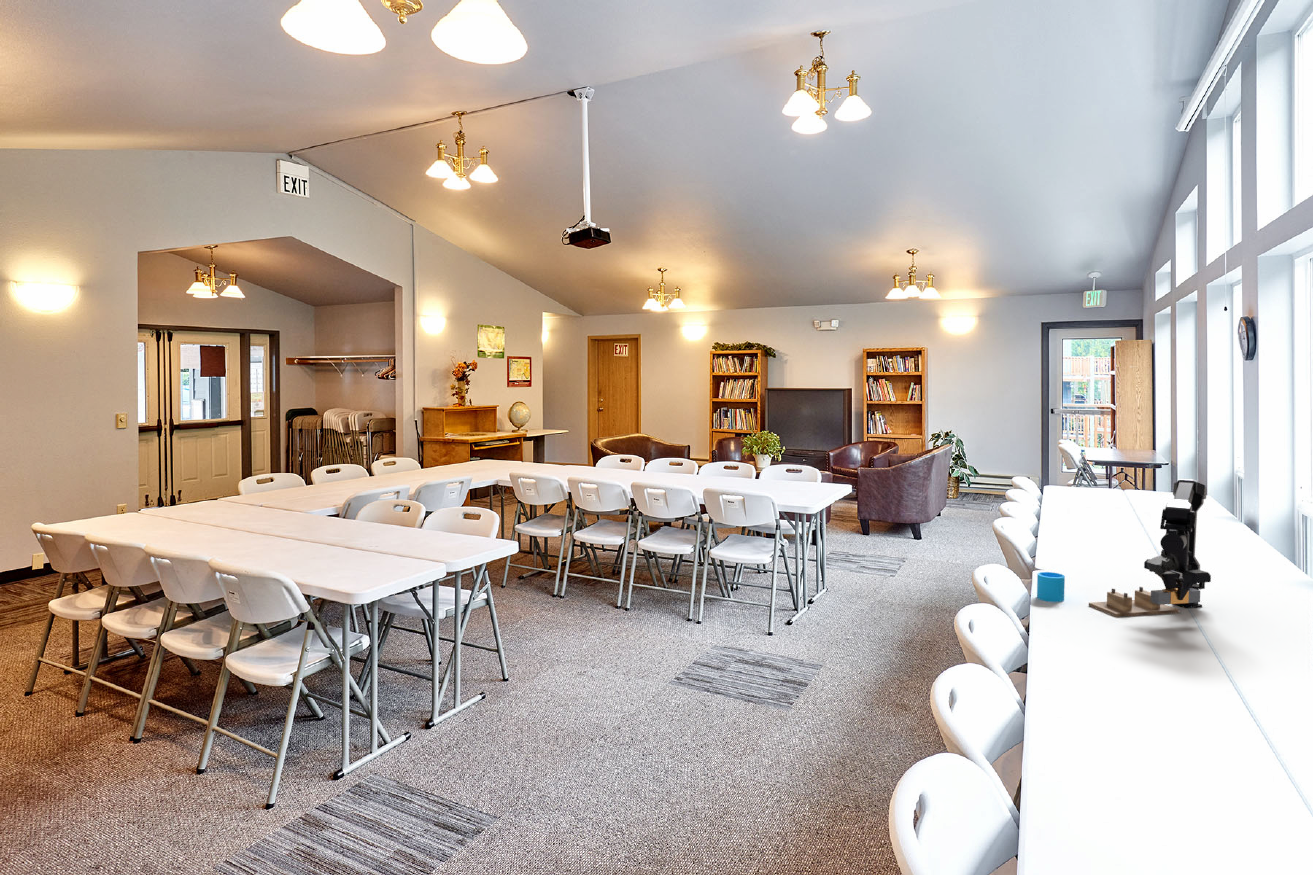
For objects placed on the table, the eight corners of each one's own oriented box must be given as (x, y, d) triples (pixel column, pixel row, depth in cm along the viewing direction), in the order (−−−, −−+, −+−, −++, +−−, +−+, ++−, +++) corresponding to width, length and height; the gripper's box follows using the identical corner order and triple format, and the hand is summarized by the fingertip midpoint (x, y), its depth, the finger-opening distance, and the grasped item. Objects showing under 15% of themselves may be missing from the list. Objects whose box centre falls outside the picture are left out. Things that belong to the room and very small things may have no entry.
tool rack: (1148, 601, 249) (1149, 583, 248) (1179, 612, 237) (1179, 593, 236) (1088, 605, 245) (1089, 587, 245) (1116, 616, 234) (1116, 597, 233)
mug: (1059, 603, 248) (1060, 579, 248) (1033, 598, 254) (1034, 575, 254) (1070, 596, 257) (1071, 572, 256) (1045, 591, 263) (1045, 568, 262)
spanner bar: (1191, 599, 230) (1191, 587, 229) (1200, 602, 226) (1200, 590, 226) (1150, 601, 228) (1150, 589, 227) (1158, 604, 224) (1159, 592, 224)
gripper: (1129, 542, 234) (1127, 591, 235) (1179, 555, 215) (1177, 609, 217) (1161, 540, 236) (1159, 589, 237) (1213, 553, 217) (1211, 606, 218)
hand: (1175, 598), depth 227 cm, fingers closed on spanner bar, 3 cm apart
